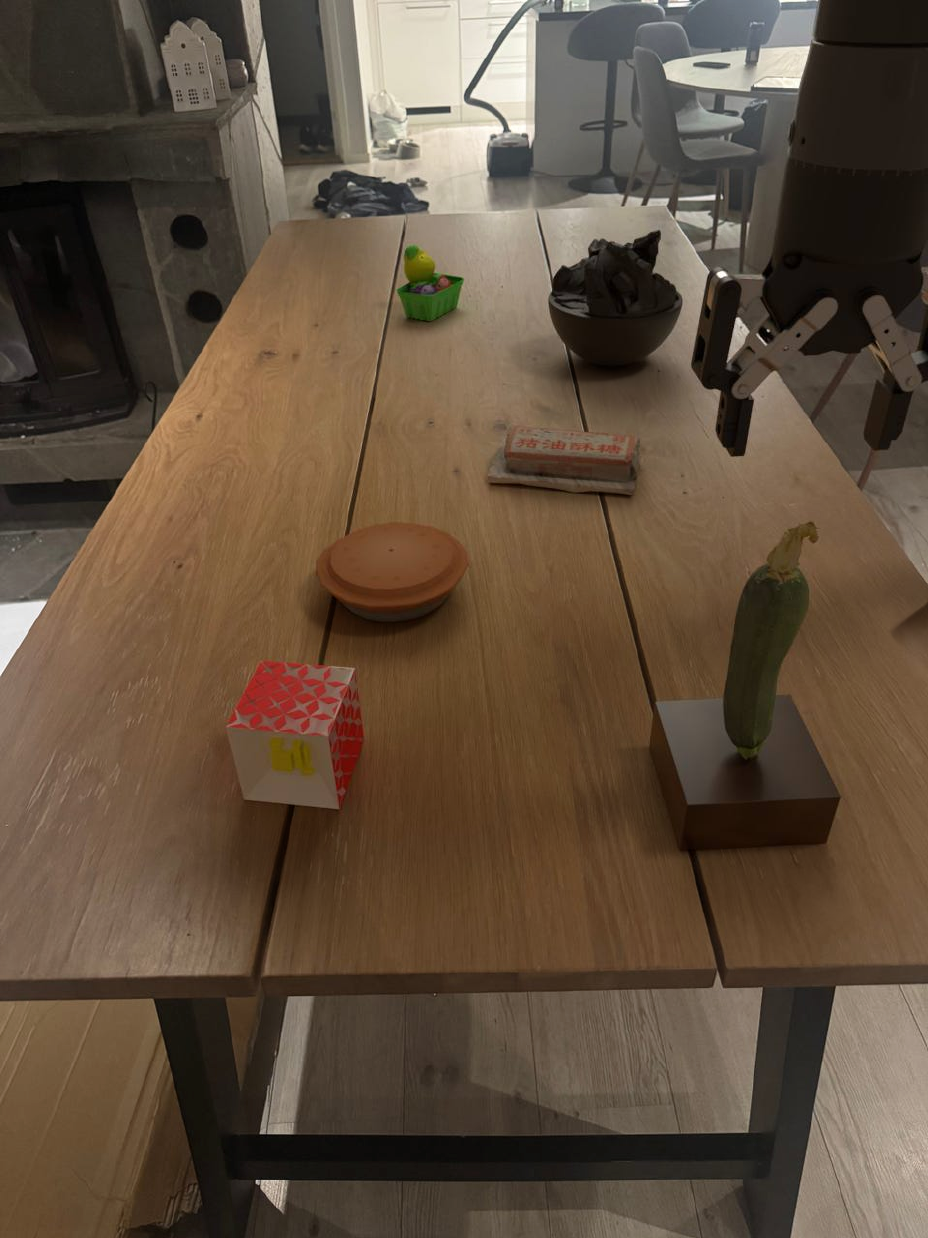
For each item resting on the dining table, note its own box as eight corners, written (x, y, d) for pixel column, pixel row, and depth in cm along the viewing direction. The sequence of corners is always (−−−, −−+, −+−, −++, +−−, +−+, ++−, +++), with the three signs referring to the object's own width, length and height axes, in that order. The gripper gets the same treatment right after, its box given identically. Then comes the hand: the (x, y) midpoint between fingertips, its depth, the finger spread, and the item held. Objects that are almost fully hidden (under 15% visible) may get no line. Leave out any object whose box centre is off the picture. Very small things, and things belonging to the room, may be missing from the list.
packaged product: (644, 425, 115) (637, 462, 108) (641, 460, 118) (633, 498, 110) (502, 414, 119) (486, 449, 111) (502, 448, 122) (486, 484, 114)
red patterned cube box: (243, 799, 74) (225, 727, 69) (275, 731, 80) (260, 660, 75) (340, 809, 73) (329, 736, 68) (365, 739, 79) (355, 668, 74)
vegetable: (701, 743, 70) (741, 514, 58) (737, 717, 72) (782, 491, 61) (750, 775, 68) (802, 542, 56) (785, 747, 70) (842, 517, 58)
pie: (500, 588, 96) (500, 548, 93) (386, 657, 88) (382, 614, 85) (402, 535, 105) (399, 496, 102) (290, 592, 97) (283, 552, 94)
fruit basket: (432, 325, 160) (429, 258, 154) (390, 317, 164) (385, 251, 158) (466, 306, 168) (465, 241, 161) (426, 299, 172) (422, 235, 165)
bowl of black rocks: (554, 389, 137) (558, 257, 126) (540, 340, 153) (543, 220, 142) (688, 383, 137) (704, 252, 126) (661, 336, 153) (673, 215, 142)
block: (779, 738, 77) (790, 694, 74) (827, 843, 69) (841, 796, 66) (648, 746, 77) (654, 701, 74) (679, 851, 68) (687, 805, 65)
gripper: (746, 168, 42) (701, 484, 52) (1053, 156, 43) (952, 472, 52) (704, 138, 48) (671, 426, 58) (974, 128, 49) (896, 416, 58)
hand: (804, 447), depth 55 cm, fingers open, 8 cm apart
